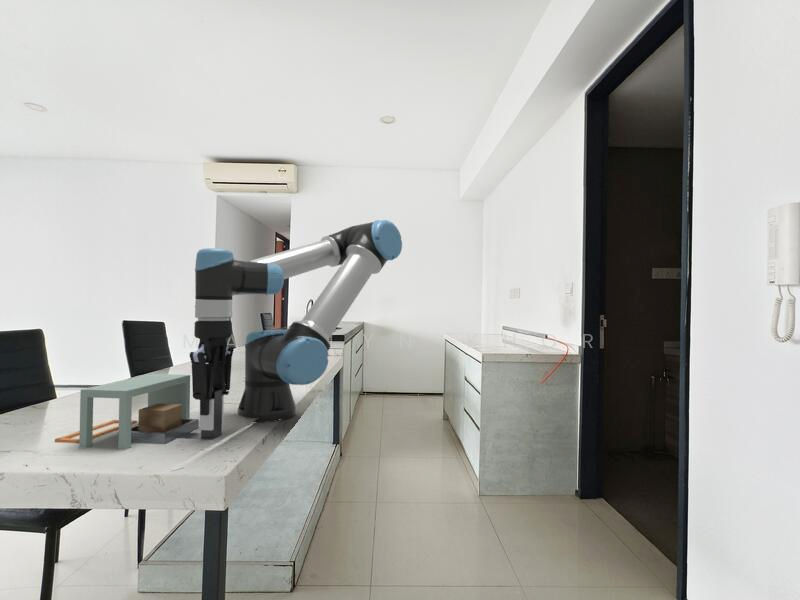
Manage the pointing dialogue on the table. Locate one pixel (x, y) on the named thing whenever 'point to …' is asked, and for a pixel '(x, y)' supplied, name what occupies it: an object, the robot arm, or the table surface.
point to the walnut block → (160, 418)
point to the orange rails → (69, 437)
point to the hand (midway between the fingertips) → (211, 427)
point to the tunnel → (155, 385)
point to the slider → (184, 427)
